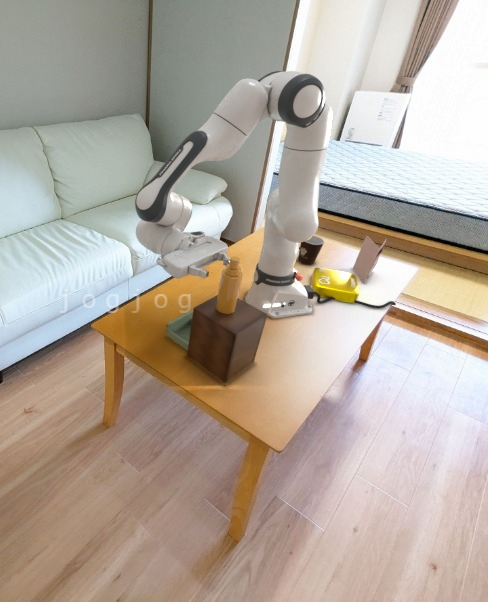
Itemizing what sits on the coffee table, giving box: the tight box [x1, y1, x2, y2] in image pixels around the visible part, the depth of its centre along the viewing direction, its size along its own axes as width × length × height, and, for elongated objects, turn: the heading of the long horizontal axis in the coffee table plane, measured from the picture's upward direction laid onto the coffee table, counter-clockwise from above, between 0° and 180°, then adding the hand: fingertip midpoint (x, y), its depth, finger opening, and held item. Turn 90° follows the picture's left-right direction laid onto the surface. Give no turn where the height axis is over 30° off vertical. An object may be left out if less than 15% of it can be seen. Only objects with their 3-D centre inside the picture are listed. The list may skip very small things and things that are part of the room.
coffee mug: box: [297, 235, 325, 266], centre depth 155 cm, size 12×9×10 cm
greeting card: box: [352, 235, 387, 284], centre depth 143 cm, size 11×7×15 cm, turn 139°
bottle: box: [216, 256, 244, 314], centre depth 94 cm, size 5×5×15 cm
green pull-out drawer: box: [165, 310, 193, 352], centre depth 113 cm, size 16×10×6 cm, turn 39°
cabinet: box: [186, 294, 268, 387], centre depth 103 cm, size 14×13×18 cm
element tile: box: [310, 266, 360, 304], centre depth 138 cm, size 15×15×5 cm
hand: (219, 269), depth 95 cm, fingers open, 8 cm apart
